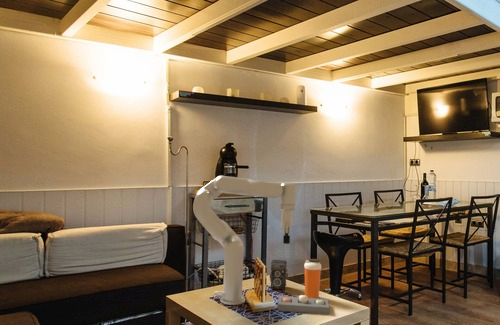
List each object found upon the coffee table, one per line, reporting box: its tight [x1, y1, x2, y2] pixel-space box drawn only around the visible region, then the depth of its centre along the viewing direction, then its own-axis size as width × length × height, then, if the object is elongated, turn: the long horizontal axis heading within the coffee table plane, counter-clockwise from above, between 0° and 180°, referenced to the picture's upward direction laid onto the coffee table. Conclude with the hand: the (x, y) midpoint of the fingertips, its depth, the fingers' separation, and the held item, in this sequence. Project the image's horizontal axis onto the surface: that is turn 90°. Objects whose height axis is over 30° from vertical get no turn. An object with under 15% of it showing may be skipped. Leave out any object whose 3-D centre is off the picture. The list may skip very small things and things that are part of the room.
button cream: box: [298, 294, 307, 304], centre depth 198 cm, size 4×4×3 cm
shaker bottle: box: [303, 257, 322, 299], centre depth 214 cm, size 9×9×20 cm
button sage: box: [316, 300, 324, 305], centre depth 197 cm, size 4×4×3 cm
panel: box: [277, 295, 330, 315], centre depth 198 cm, size 24×12×3 cm, turn 84°
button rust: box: [282, 296, 291, 303], centre depth 199 cm, size 4×4×3 cm
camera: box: [269, 259, 289, 291], centre depth 227 cm, size 10×10×15 cm
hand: (286, 243), depth 208 cm, fingers closed
